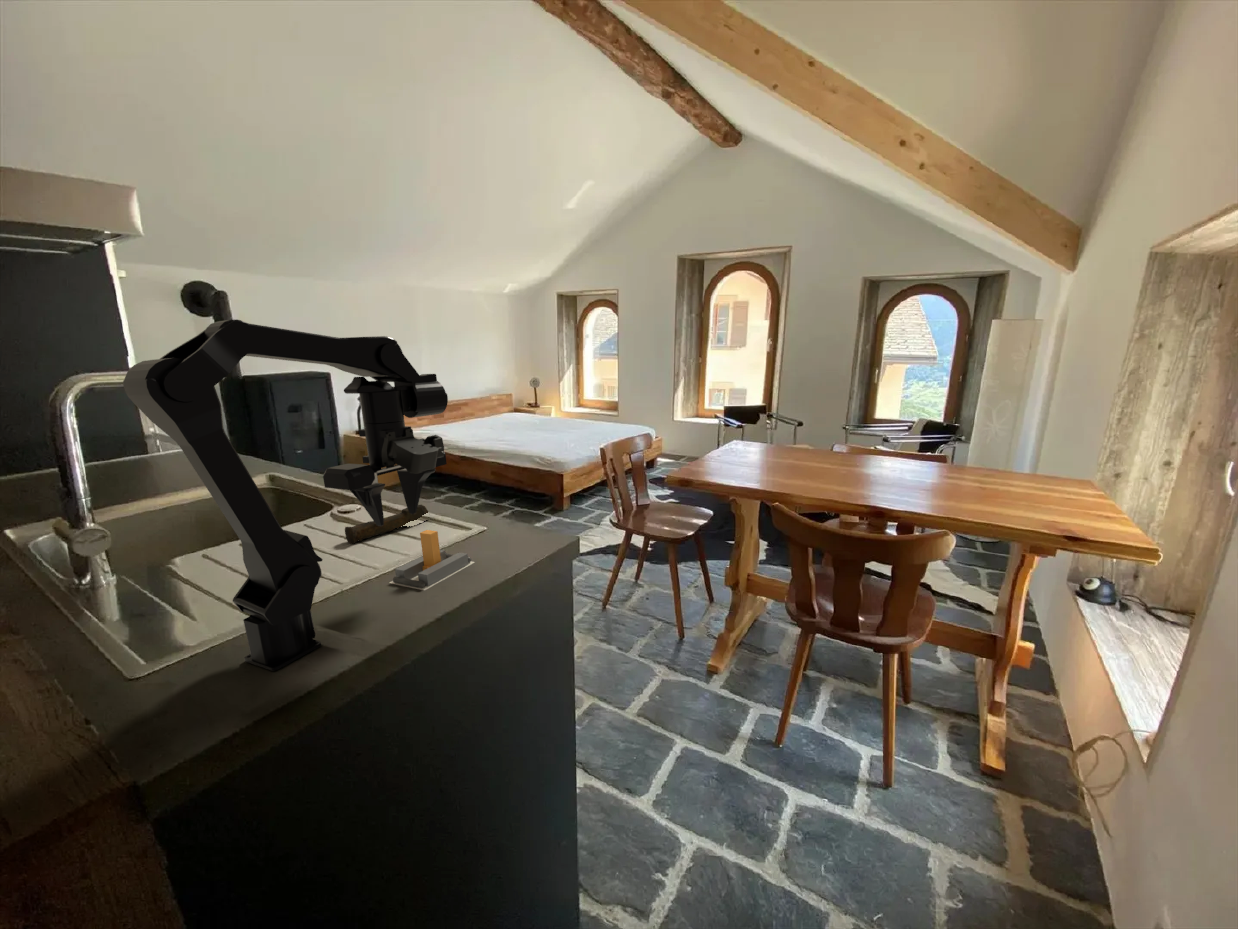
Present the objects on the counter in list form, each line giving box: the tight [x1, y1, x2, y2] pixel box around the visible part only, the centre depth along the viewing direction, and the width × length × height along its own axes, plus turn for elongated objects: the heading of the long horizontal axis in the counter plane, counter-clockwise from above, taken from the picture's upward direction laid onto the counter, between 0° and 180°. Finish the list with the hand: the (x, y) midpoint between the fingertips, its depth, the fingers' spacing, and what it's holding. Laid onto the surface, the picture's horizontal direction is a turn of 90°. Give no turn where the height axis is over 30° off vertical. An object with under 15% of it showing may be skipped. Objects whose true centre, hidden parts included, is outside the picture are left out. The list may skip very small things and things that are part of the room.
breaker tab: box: [419, 529, 441, 570], centre depth 88 cm, size 2×2×7 cm
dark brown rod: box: [344, 504, 429, 545], centre depth 116 cm, size 19×4×5 cm, turn 138°
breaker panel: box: [388, 549, 476, 591], centre depth 89 cm, size 12×8×4 cm, turn 155°
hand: (397, 519), depth 81 cm, fingers open, 6 cm apart
